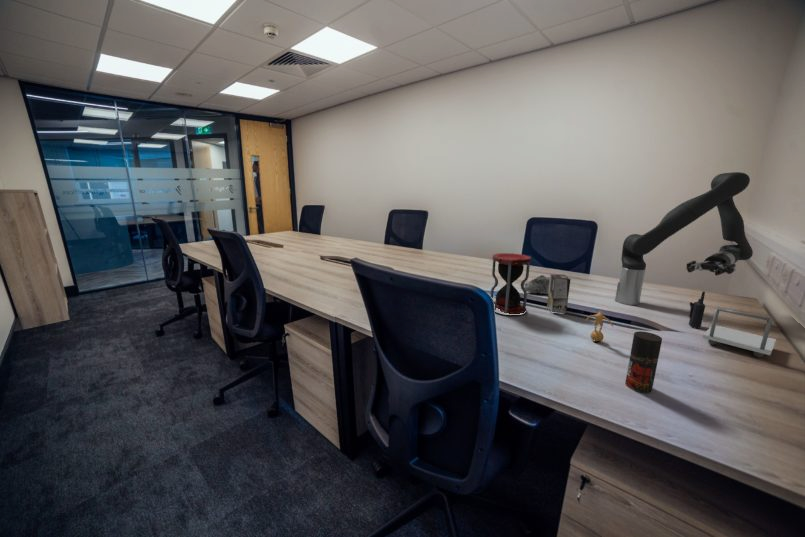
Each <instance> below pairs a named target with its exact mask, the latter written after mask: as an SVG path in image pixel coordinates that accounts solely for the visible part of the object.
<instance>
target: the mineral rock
mask: <svg viewBox="0 0 805 537" xmlns="http://www.w3.org/2000/svg"><path fill="white" fill-rule="evenodd" d="M549 282H550V276H545V275H544V274H541V275H539V276H537V277H536V278H534V279H532V280H530V281H529V282H527V283H526V282H525V283H524V289H525V290H526V292H527V293H531V294H536V293H540V294H541V295H542V294H543V295H548V292H549Z"/></svg>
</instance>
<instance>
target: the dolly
mask: <svg viewBox="0 0 805 537" xmlns="http://www.w3.org/2000/svg"><path fill="white" fill-rule="evenodd" d="M720 312H724V313H729V314H733V315H737V316H742V317H749V318H753V319H757V320H763V321H767V322H766V326H765V329H764V332H763V334H762V335H759V334H754V333H752V332H748V331H747V332H746V331H742V330H737V329H734V328H730V327H724V326H720V325H717V322H718V318H719V314H720ZM772 323H773V319H771V317H768V316H762V315H757V314H752V313H747V312H742V311H737V310H731V309H727V308H722V307H715V309H714V314H713V318H712V323H711V325H710V327H708V329H707V330H705V332H704V333H703V334H702V338H703V339H706V340H707V342H708V344H709V345H712V346H716V345H718V343H722V344H725V345H727V346H728V345H730V346H733V347H737V348H740V349H744V350H748V351H752V352H753V355H754V356H755V358H756V357H757V358H763V357H764V356H765V355H767V356H771V355H772V352H773V349H774V347H775V345H776V342H777V339H776V338H772V337H769V334H770V331H771V329H772V328H771V327H772Z"/></svg>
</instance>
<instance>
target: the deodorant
mask: <svg viewBox="0 0 805 537" xmlns="http://www.w3.org/2000/svg"><path fill="white" fill-rule="evenodd" d="M662 342H663V337H661V336H660V335H657V334H655V333H652V332H648V331H635V332H633V338H632V343H631V350H630V355H629V359H628V364H627V371H626V377H625V384H624V385H625V386H626V387H627V388H629V389H630V390H632V391H634V392H638V393H640V394H651V393H652V392H653V388H654V382H655V377H656V373H657V367H658V362H659V357H660V352H661V347H662Z"/></svg>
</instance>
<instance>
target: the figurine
mask: <svg viewBox="0 0 805 537" xmlns="http://www.w3.org/2000/svg"><path fill="white" fill-rule="evenodd" d="M590 318H595V319H596V320H594V331H592V332H591V333H590V338H591V340H592V341H593V340H595V341H600V342H602V341H603V340H604V336H605V335H604V333H602V329H603V326H604V322H603V319H604V320H607V321H608V322H609V324H610V326H611V327H614V326H613V325H614V324H613V323H612V322H611V319H609V318H607V317H606V316H605V315H603V312H602V311H598V313H596V314H593V315H592V314H591V315H589V316H587V317H586V319H585V322H587V321H588V320H589V319H590ZM597 325H599V326H600V327H599V330H597ZM595 341H594V342H595Z"/></svg>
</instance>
